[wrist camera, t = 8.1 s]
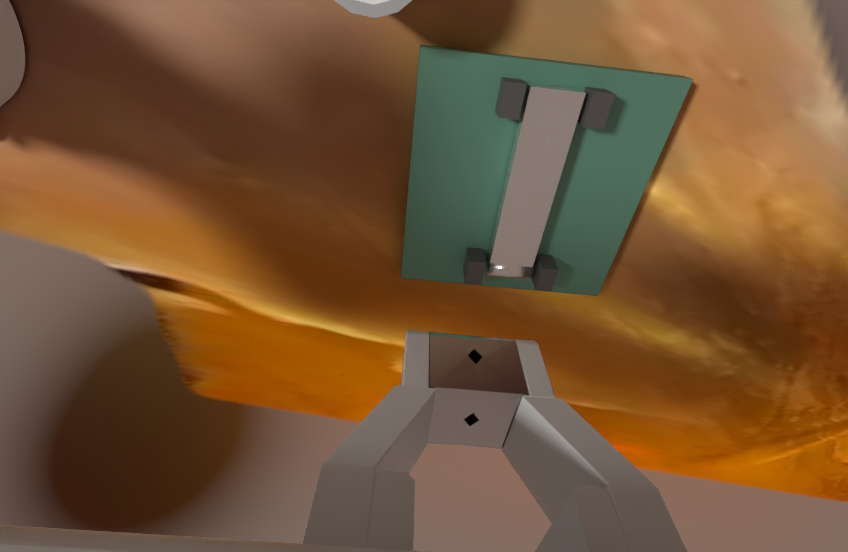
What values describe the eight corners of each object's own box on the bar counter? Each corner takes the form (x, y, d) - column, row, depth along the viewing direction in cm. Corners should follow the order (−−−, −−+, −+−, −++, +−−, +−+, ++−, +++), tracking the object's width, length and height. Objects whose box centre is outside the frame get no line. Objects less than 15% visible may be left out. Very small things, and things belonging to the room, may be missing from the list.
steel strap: (484, 268, 38) (486, 279, 37) (526, 83, 29) (531, 87, 28) (525, 272, 39) (529, 282, 37) (579, 89, 29) (587, 93, 28)
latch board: (401, 269, 41) (399, 293, 37) (420, 44, 29) (419, 50, 26) (592, 287, 42) (606, 311, 38) (682, 75, 30) (713, 85, 27)
